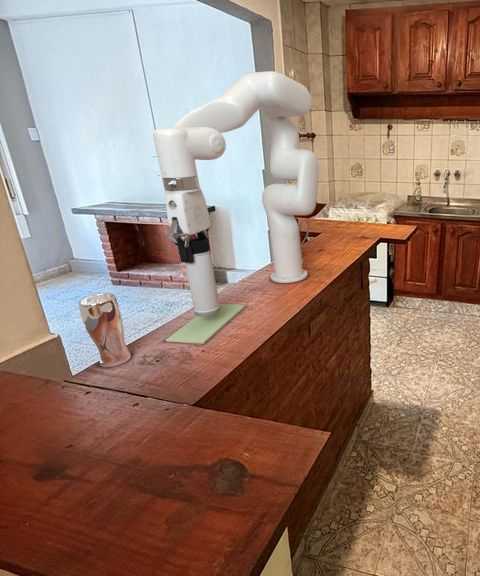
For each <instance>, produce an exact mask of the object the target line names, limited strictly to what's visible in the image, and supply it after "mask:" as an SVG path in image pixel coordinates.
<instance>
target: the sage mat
mask: <svg viewBox="0 0 480 576" xmlns="http://www.w3.org/2000/svg"><path fill="white" fill-rule="evenodd" d="M219 305H220V311H219V312H218V313H216V314H214V315H211V316H205V317H201V316H197V315H196V316H195V317H193V318H192V319H191V320H189V321H188V322H186V323H185V324H184V325H183V326H181V327H180V328H179V329H177V330H176V331H175V332H174V333H173V334H171V335H170V336H169V337H167V338H165V342H167V343H183V344H199V345H200V344H201V345H204V344H205V343H206V342H207V341H209V340H210V339H211V338H212V337H213V336H215V334H217V333H218V332H219V331H220V330H221V329H222V328H223V327H224V326H226V325H227V324H228V323H229V322H231V320H232V319H233V318H234V317H236V316H237V315H238V314H239V313H240V312H241V311H242V310H243V309H244V308H245V307H247V305H246V304H237V303H219Z"/></svg>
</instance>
